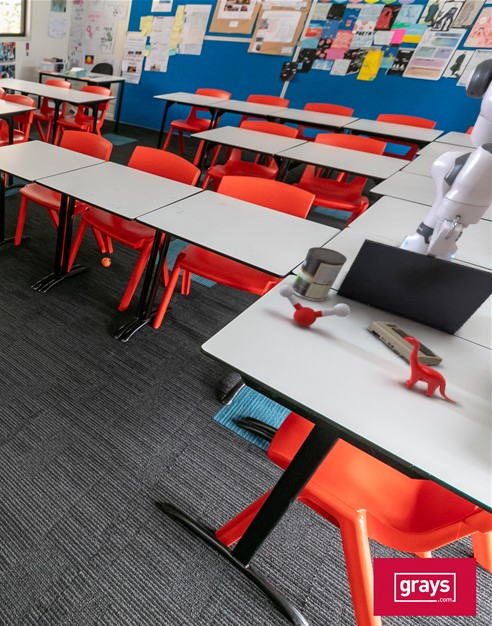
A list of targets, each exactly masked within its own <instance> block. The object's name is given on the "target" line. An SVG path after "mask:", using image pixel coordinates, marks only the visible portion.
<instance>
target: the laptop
mask: <svg viewBox="0 0 492 626" xmlns="http://www.w3.org/2000/svg"><path fill="white" fill-rule="evenodd" d="M335 295H336V296H339V297H342V298H344V299H347V300H350V301H353V302H356V303H358V304H361V305H365V306H368V307H370V308H374V309H377V310H380V311H382V312H386V313H388V314H392V315H394V316H398V317H400V318H403V319H406V320H409V321H412V322H414V323H418V324H420V325H424V326H427V327H429V328H432V329H436V330H437V331H441V332H444V333H446V334H450V335H452V336H453V335H455V334H456V333H457V332H456V331H453V330H450V329H447V328H444V327H441V326H438V325H435V324H432V323H429V322H426V321H423V320H420V319H417V318H414V317H411V316H408V315H405V314H402V313H400V312H397V311H394V310H391V309H388V308H385V307H382V306H379V305H376V304H373V303H370V302H367V301H364V300H361V299H358V298H355V297H352V296H349V295H346V294H343V293H340V292H338V291H337V292H336V293H335Z"/></svg>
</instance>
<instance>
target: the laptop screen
mask: <svg viewBox="0 0 492 626" xmlns="http://www.w3.org/2000/svg"><path fill="white" fill-rule="evenodd" d="M398 247H399V246H393V245H391V244H386V243H383V242H379V241H375V240H371V239H369V238H365V239H364V241H363V243H362V245H361V246H360V248H359V250H358V252H357V254H356V256H355V258H354V259H353V262H352V264H351V265H350V267H349V269H348V271H347V273H346V275H345V277H344V278H343V280H342V282H341V284H340V286H339V288H338V290H337V292H340V293H343V294H346V295H349V296H352V297H355V298H358V299H361V300H364V301H367V302H370V303H373V304H376V305H379V306H382V307H385V308H388V309H391V310H394V311H397V312H400V313H402V314H405V315H408V316H411V317H414V318H417V319H420V320H423V321H426V322H429V323H432V324H435V325H438V326H441V327H444V328H447V329H450V330H453V331H456V333H457V332H459V330H460V329H461V328H462V327H463V326H464V325H465V324H466V322H468V321H469V319H471V317H472V316H473V315H474V314H475V313H476V312H477V311H478V310H479V308H481V307H482V305H483V304H484V303H485V302H486V301H487V300H488V299H489V298H490V296H491V295H492V272H491V271H487V270H484V269H480V268H476V267H472V266H468V265H464V264H461V263H457V262H453V261H446V260H443V259H439V258H435V257H431V256H428V255H424V254H420V253H416V252H413V251H409V250H405V249H401V248H398Z"/></svg>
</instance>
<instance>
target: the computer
mask: <svg viewBox="0 0 492 626" xmlns="http://www.w3.org/2000/svg"><path fill="white" fill-rule="evenodd" d="M367 330H369V331H370V333H371V334H372V335H374V336H375V337H376V338H378V339H379V340H380V341H382V342H383V343H384V344H385V345H387V346H388V347H389V348H390V349H392V351H393V352H394V353H396V354H397V355H398V356H399V357H400V358H402V359H403V360H404V361H405V362H406V363H408V364H409V365H410V355H411V353H412V350H413V347H414V345H412V344H409V342H408V341H406V340H405V337H413V338H415V337H414V336H412V334H410V333H409V332H407V331H406V330H404V328H402V327H400V325H398V324H397V323H395V322H387V321H379V320H377V321H372V322H371V323H370V324H369V325H368V326H367ZM415 339H416V338H415ZM416 340H417V341H418V342H419V345H420V347H419V350H418V361H419V363H421V364H424V365H426V366H429V365H431V366H437V365H440V363H442V362H443V360H444V359H443V358H442V357H441V356H439V355H438V354H437V353H435V352H434V351H433V350H431V349H430V348H428V347H427V346H426V345H424V344H423V343H422V342H420V341H419V340H418V339H416Z"/></svg>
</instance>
